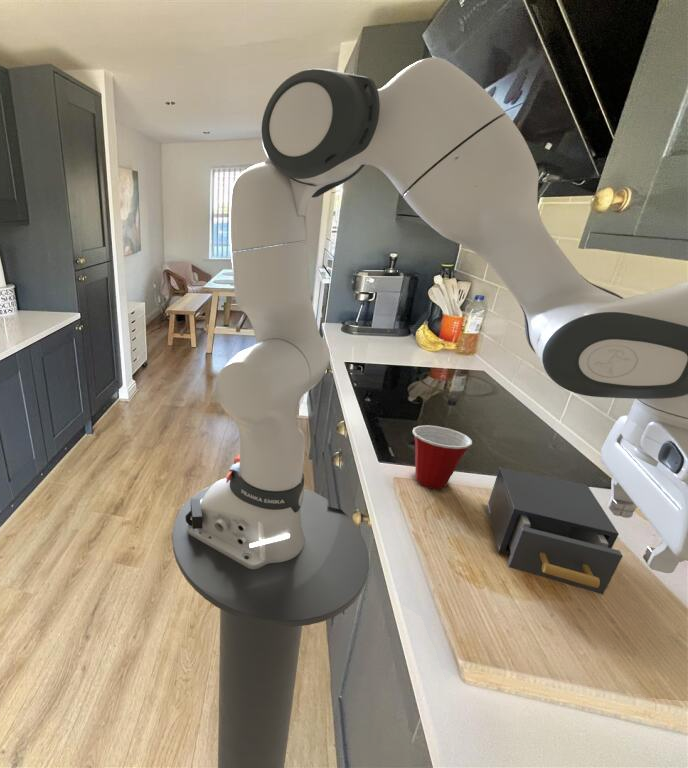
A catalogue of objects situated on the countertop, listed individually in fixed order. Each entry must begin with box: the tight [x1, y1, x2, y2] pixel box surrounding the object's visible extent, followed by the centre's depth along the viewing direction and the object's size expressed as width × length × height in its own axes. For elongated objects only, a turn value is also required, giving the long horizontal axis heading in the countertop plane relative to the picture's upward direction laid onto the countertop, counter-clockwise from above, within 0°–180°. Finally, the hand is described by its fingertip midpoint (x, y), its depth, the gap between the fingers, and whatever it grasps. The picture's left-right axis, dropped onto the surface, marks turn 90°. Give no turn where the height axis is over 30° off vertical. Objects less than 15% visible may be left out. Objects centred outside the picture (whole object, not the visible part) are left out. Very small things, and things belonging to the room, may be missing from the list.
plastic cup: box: [412, 424, 473, 490], centre depth 87 cm, size 11×11×12 cm
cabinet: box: [486, 467, 619, 557], centre depth 70 cm, size 14×13×10 cm
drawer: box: [507, 514, 624, 596], centre depth 65 cm, size 16×11×8 cm
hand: (635, 537), depth 46 cm, fingers open, 8 cm apart
